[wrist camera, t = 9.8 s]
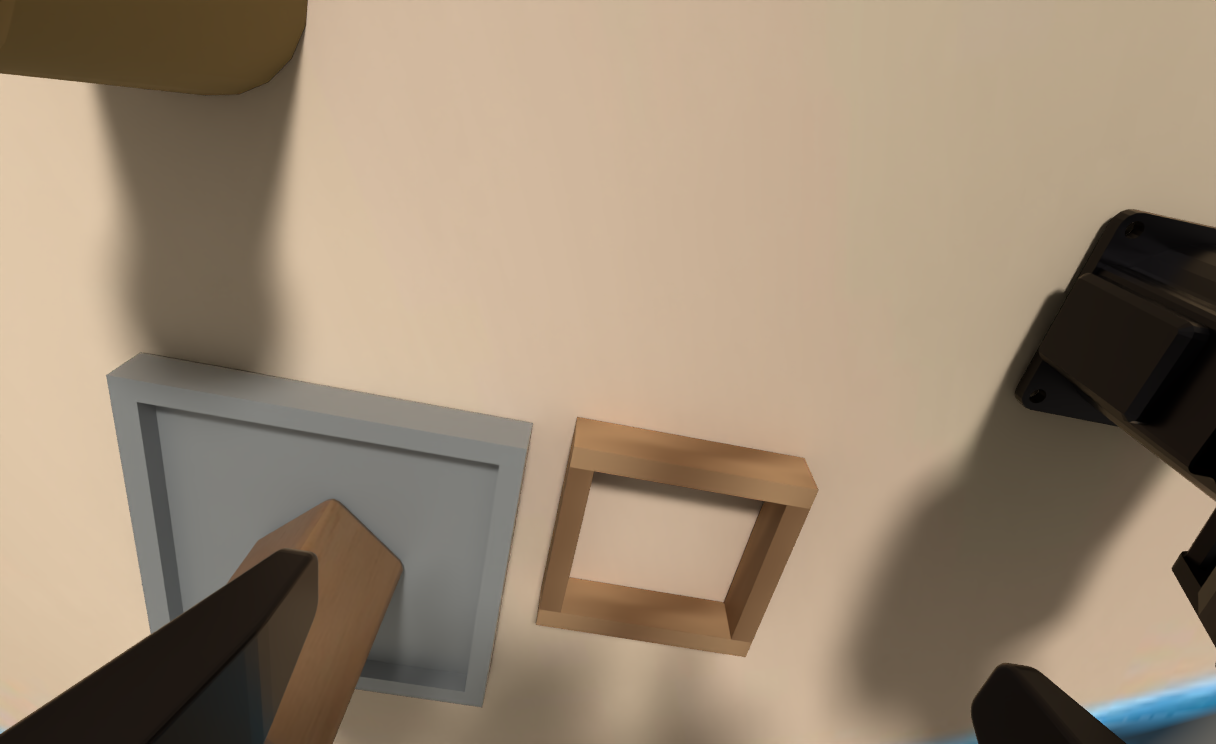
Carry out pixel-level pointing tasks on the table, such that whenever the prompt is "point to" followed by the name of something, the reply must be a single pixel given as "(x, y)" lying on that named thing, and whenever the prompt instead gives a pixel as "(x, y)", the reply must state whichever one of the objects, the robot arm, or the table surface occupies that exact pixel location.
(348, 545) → the wooden block
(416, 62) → the table surface
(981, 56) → the table surface
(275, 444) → the slate tray
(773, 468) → the walnut collar
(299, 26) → the olive pawn piece
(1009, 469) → the table surface
